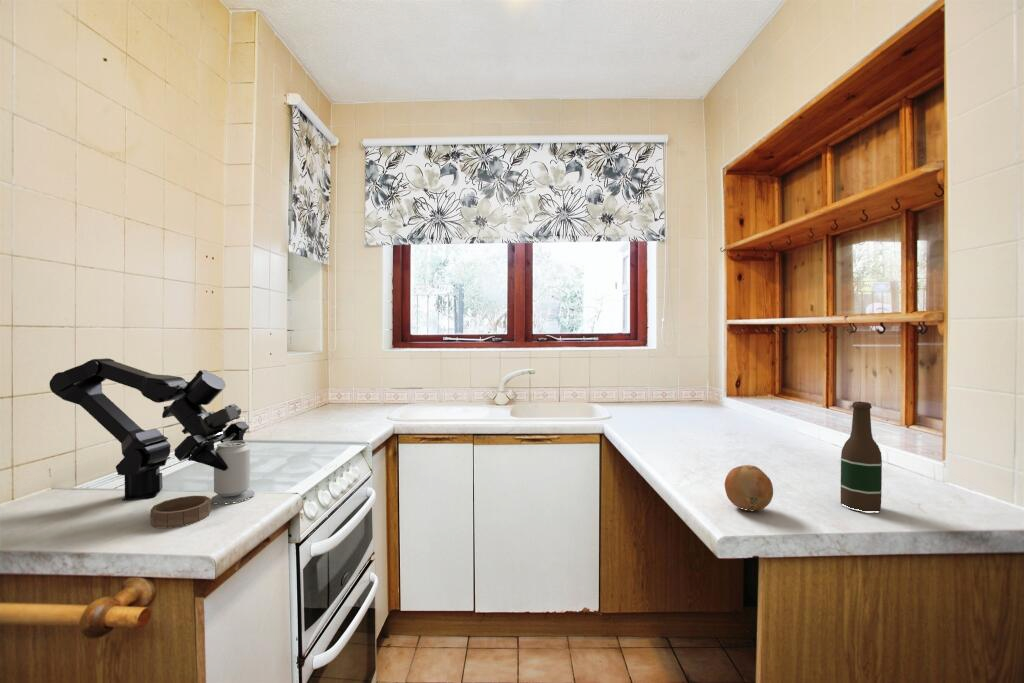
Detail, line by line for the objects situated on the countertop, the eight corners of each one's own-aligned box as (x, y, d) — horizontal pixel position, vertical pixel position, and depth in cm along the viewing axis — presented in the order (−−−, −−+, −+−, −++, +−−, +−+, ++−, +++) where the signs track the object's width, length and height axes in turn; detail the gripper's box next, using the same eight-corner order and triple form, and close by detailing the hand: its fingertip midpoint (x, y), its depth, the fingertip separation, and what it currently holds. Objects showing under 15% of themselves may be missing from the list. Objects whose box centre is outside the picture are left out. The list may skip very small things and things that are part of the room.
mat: (207, 507, 106) (207, 504, 106) (214, 494, 114) (214, 492, 114) (252, 501, 109) (252, 498, 109) (256, 489, 118) (256, 487, 118)
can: (246, 495, 109) (246, 445, 109) (210, 499, 107) (209, 447, 107) (252, 485, 116) (252, 438, 116) (218, 488, 114) (218, 440, 114)
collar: (144, 531, 93) (144, 516, 93) (159, 513, 102) (158, 499, 102) (205, 522, 97) (205, 508, 97) (213, 506, 106) (213, 493, 106)
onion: (760, 502, 108) (760, 459, 108) (782, 518, 98) (782, 472, 98) (717, 501, 109) (718, 459, 109) (735, 517, 99) (735, 471, 99)
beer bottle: (874, 503, 107) (875, 400, 107) (888, 516, 100) (890, 405, 99) (834, 499, 110) (835, 399, 109) (846, 511, 102) (847, 404, 102)
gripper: (186, 400, 102) (233, 451, 102) (242, 390, 121) (282, 433, 120) (153, 435, 103) (200, 486, 102) (213, 419, 122) (253, 462, 121)
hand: (237, 464), depth 111 cm, fingers closed on can, 7 cm apart
